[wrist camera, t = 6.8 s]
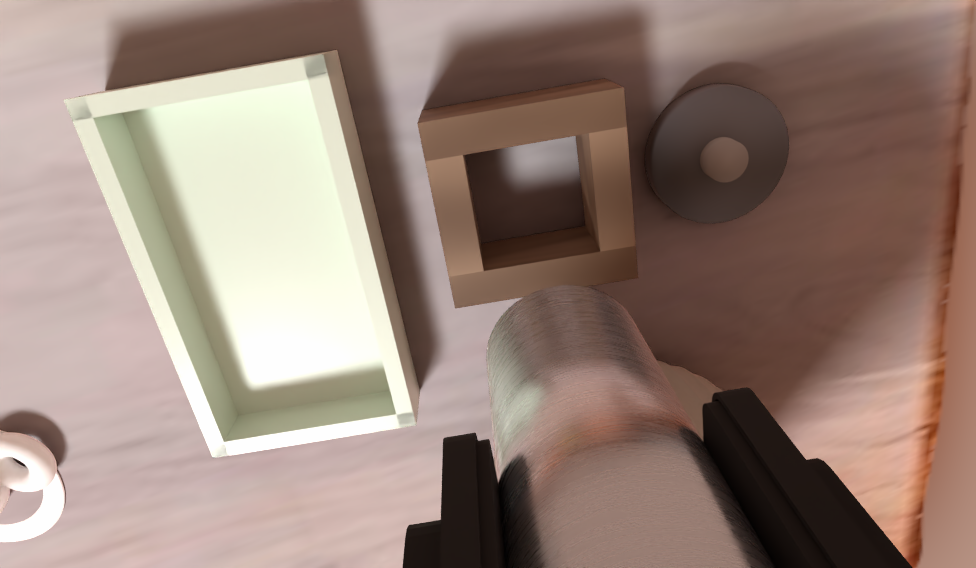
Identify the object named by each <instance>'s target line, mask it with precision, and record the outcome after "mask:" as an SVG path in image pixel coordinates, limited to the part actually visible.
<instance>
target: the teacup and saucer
mask: <svg viewBox="0 0 976 568" xmlns="http://www.w3.org/2000/svg"><path fill="white" fill-rule="evenodd" d="M12 457H13V458H15V459H17V460H19V461H21V462H22V463H24V464H25V465H26V466H27V467H24V466H22V465H20V464H19V463H17V462H16V461H15V460H14V459H13V458H12ZM10 489H13V490H17V491H23V492H33V491H38V490H41V489H43V493H44V495H43V501H42V504H41V506H40V508H39V510H38V511H37V512H36V513H35V514H34V515H33V516H31V517H30V518H28V519H27V520H24V521H22V522H19V523H15V524H9V525H0V542H14V541H22V540H26V539H30V538H33V537H36V536H38V535H40V534H42V533H44V532H46V531H47V530H48V529H50V528H51V527H52V526H53V525H54V524H55V523H56V522H57V521H58V519H59V518H60V516H61V514H62V512H63V509H64V505H65V491H64V486H63V483H62V480H61V478H60V476H59V474H58V472H57V464H56V460H55V457H54V455H53V454H52V452H51V451H50V450H49V449H48V448H47V447H46V446H45V445H44V444H43V443H41V442H40V441H38V440H37V439H35V438H33V437H31V436H28V435H25V434H22V433H15V432H9V433H8V432H5V431H2V430H0V514H1V512H2V511H3V509H4V507H5V506H6V504H7V502H8V499H9V496H10Z"/></svg>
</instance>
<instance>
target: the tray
mask: <svg viewBox="0 0 976 568" xmlns="http://www.w3.org/2000/svg"><path fill="white" fill-rule="evenodd" d="M64 102H65V104H66V107H67V109H68V112H69V114H70V116H71V119H72V121H73V124H74V126H75V128H76V131H77V133H78V136H79V138H80V140H81V143H82V145H83V148H84V150H85V152H86V155H87V157H88V160H89V162H90V164H91V167H92V169H93V171H94V174H95V176H96V179H97V181H98V183H99V186H100V188H101V191H102V193H103V195H104V198H105V200H106V203H107V205H108V207H109V210H110V212H111V215H112V217H113V219H114V222H115V224H116V227H117V229H118V231H119V234H120V236H121V239H122V241H123V243H124V246H125V248H126V251H127V253H128V255H129V258H130V260H131V263H132V265H133V267H134V270H135V272H136V275H137V277H138V279H139V282H140V284H141V287H142V289H143V291H144V294H145V296H146V299H147V301H148V303H149V306H150V308H151V311H152V313H153V315H154V318H155V320H156V322H157V325H158V327H159V330H160V332H161V334H162V337H163V339H164V342H165V344H166V346H167V349H168V351H169V354H170V356H171V358H172V361H173V363H174V366H175V368H176V370H177V373H178V375H179V378H180V380H181V382H182V385H183V387H184V390H185V392H186V394H187V397H188V399H189V402H190V404H191V406H192V409H193V411H194V414H195V416H196V418H197V421H198V423H199V426H200V428H201V430H202V433H203V435H204V438H205V440H206V442H207V445H208V447H209V450H210V452H211V454H212V457H213V458H217V457H223V456H229V455H236V454H242V453H248V452H254V451H260V450H267V449H273V448H279V447H285V446H291V445H298V444H304V443H310V442H316V441H322V440H329V439H335V438H341V437H347V436H353V435H360V434H366V433H372V432H378V431H384V430H391V429H397V428H403V427H409V426H415V425H416V424H417V414H418V405H419V395H420V389H419V385H418V381H417V377H416V373H415V369H414V365H413V361H412V356H411V352H410V348H409V344H408V340H407V336H406V332H405V328H404V323H403V319H402V315H401V311H400V307H399V303H398V299H397V295H396V290H395V286H394V282H393V278H392V274H391V270H390V266H389V262H388V257H387V253H386V249H385V245H384V241H383V237H382V233H381V229H380V225H379V220H378V216H377V212H376V208H375V204H374V200H373V196H372V192H371V187H370V183H369V179H368V175H367V171H366V167H365V163H364V159H363V154H362V150H361V146H360V142H359V138H358V134H357V130H356V126H355V121H354V117H353V113H352V109H351V105H350V101H349V97H348V93H347V89H346V84H345V80H344V76H343V72H342V68H341V64H340V60H339V56H338V51H337V50H333V51H327V52H321V53H316V54H310V55H304V56H299V57H293V58H287V59H282V60H276V61H270V62H265V63H259V64H253V65H248V66H242V67H237V68H231V69H225V70H220V71H214V72H208V73H203V74H197V75H191V76H186V77H180V78H174V79H169V80H163V81H158V82H152V83H146V84H141V85H135V86H129V87H124V88H118V89H112V90H107V91H102V92H97V93H93V94H88V95H84V96H79V97H75V98H70V99H66V100H64Z"/></svg>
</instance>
